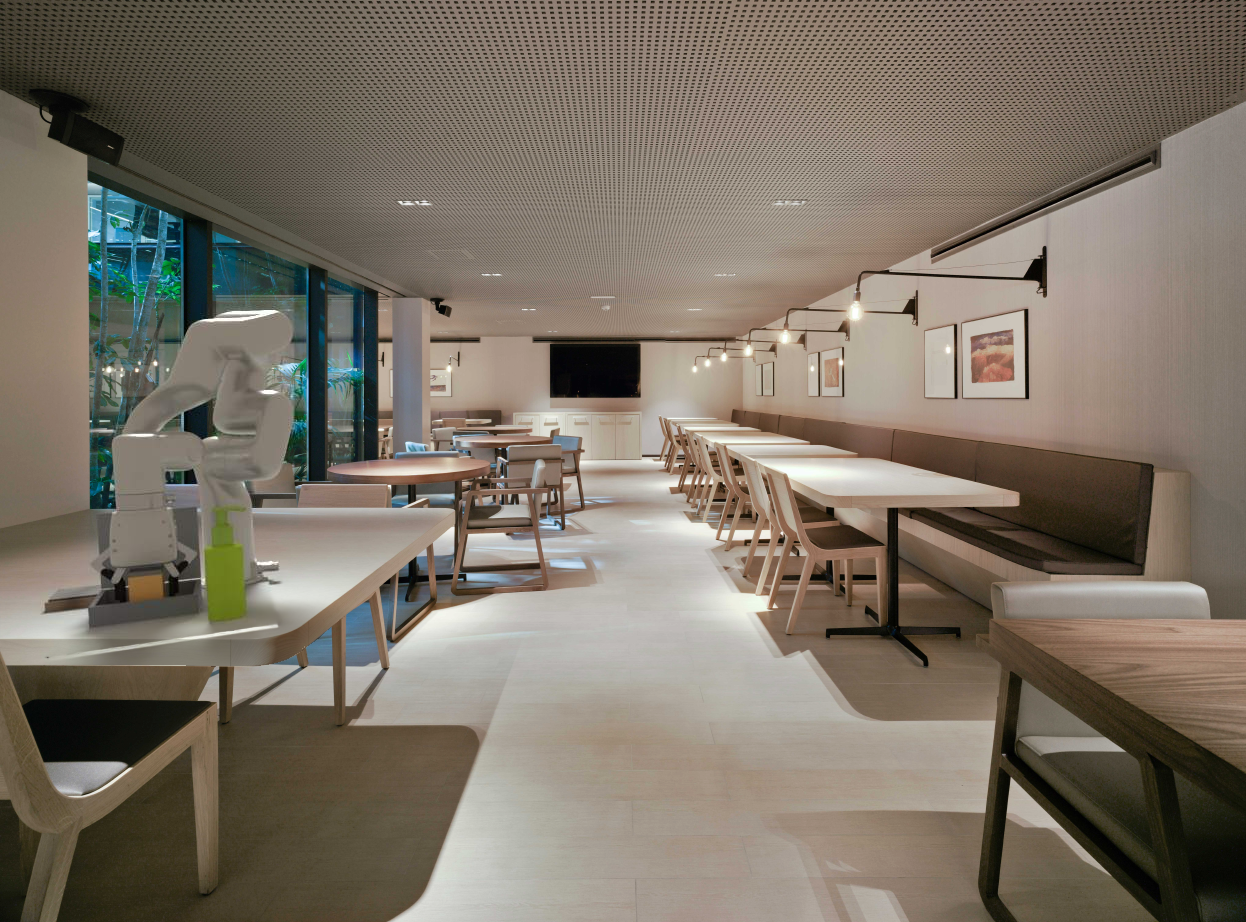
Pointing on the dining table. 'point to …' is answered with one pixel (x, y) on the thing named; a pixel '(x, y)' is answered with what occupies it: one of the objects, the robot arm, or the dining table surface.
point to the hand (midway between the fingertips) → (148, 599)
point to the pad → (72, 598)
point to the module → (146, 583)
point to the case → (145, 606)
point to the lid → (186, 535)
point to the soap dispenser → (224, 570)
